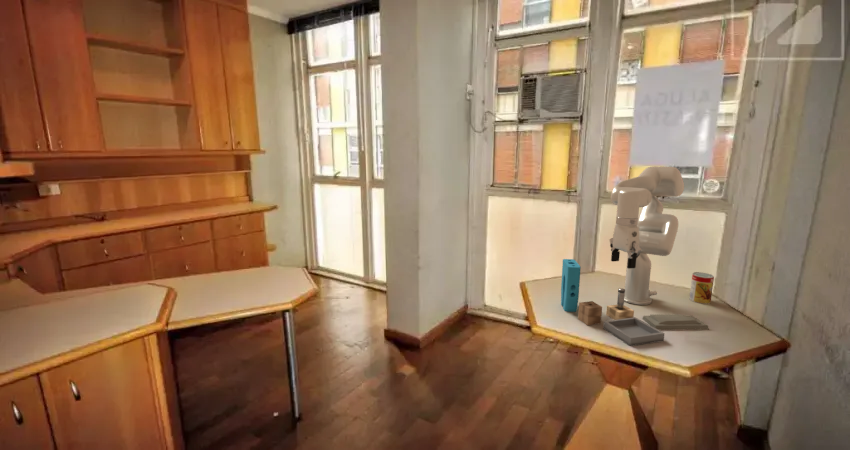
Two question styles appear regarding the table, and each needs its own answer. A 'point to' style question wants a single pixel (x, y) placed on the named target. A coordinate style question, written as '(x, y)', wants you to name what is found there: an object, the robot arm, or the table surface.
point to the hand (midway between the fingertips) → (622, 264)
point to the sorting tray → (633, 331)
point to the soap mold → (674, 322)
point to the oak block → (619, 312)
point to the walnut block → (590, 313)
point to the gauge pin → (620, 298)
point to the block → (570, 285)
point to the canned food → (701, 287)
